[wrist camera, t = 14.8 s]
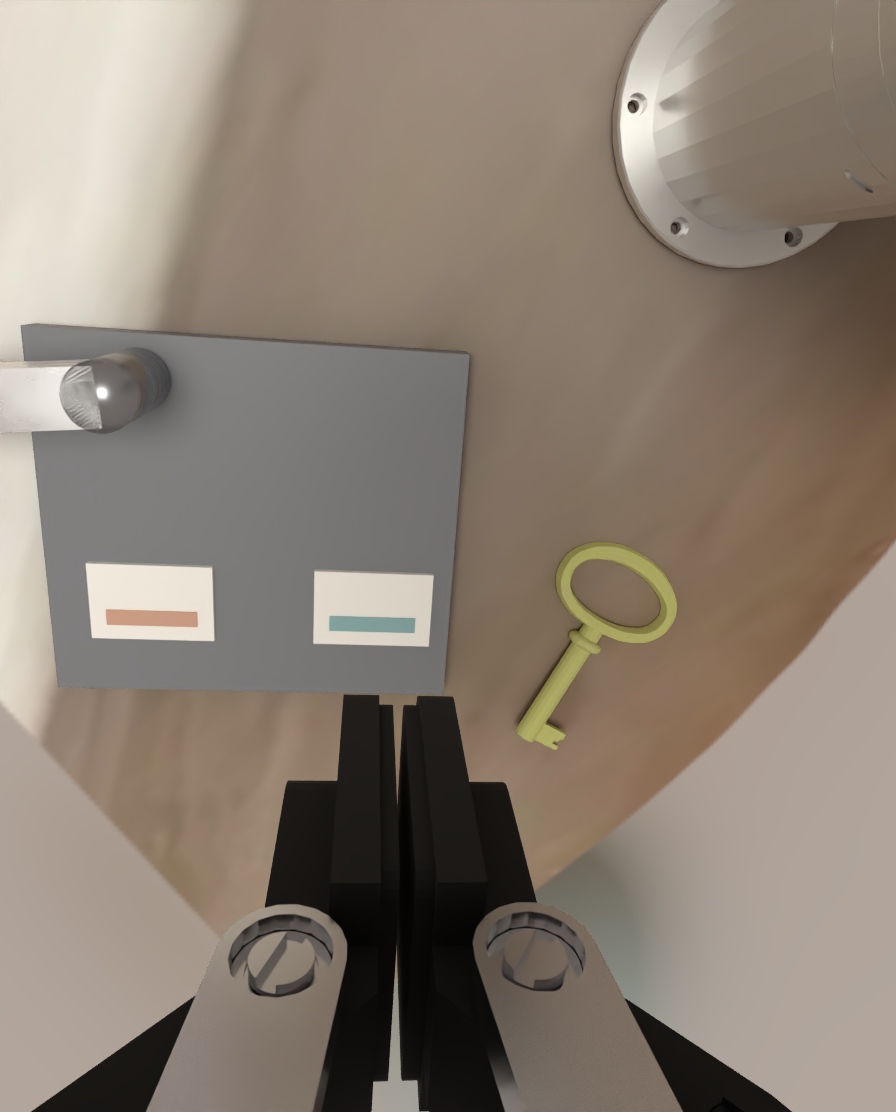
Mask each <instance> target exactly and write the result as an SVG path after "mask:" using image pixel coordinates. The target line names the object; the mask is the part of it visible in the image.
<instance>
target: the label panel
mask: <svg viewBox="0 0 896 1112" xmlns="http://www.w3.org/2000/svg"><path fill="white" fill-rule="evenodd" d="M21 333H22V343H23V353H24V361H52V360H83V359H93V358H97V357H100V356H103V355H107V354H110V353H113V352H117V351H120V350H123V349H127V348H133V347H136V348H143V349H146V350H149V351H151V352H153V353H154V354H156V355H157V356H158V357H159V358H160V359H161V360H162V361H163V362H164V364H165V365H166V367H167V369H168V371H169V374H170V381H171V384H170V390H169V393H168V395H167V397H166V399H165V400H164V401H163V402H162V403H161V404H160V405H159V406H157V407H155V408H154V409H152V410H150V411H149V412H147V413H145V414H144V415H142V416H141V417H139V418H137V419H136V420H134V421H132V422H131V423H129V424H127V425H126V426H124V427H123V428H121V429H119V430H117V431H115V432H112V433H107V434H97V433H92V432H89V431H86V430H84V429H83V430H56V431H32V440H33V450H34V459H35V469H36V479H37V488H38V498H39V508H40V517H41V527H42V537H43V546H44V556H45V566H46V575H47V585H48V595H49V604H50V614H51V624H52V634H53V643H54V653H55V663H56V672H57V682H58V687H68V688H121V689H174V690H227V691H280V692H333V693H386V694H439V695H443V692H444V679H445V667H446V654H447V641H448V628H449V615H450V602H451V589H452V576H453V563H454V550H455V537H456V524H457V512H458V499H459V486H460V473H461V460H462V447H463V434H464V421H465V408H466V395H467V382H468V369H469V357H470V354H468V353H467V352H464V351H448V350H433V349H418V348H402V347H387V346H372V345H356V344H341V343H326V342H310V341H295V340H280V339H264V338H249V337H234V336H218V335H203V334H188V333H172V332H157V331H142V330H126V329H111V328H96V327H80V326H65V325H49V324H28V325H21Z"/></svg>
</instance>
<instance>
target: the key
mask: <svg viewBox="0 0 896 1112" xmlns="http://www.w3.org/2000/svg"><path fill="white" fill-rule="evenodd" d="M589 559H601V560H608V561H612V562H615V563H618V564H621V565H623V566H625V567H627V568H629V569H631V570H633V571H634V572H636V573H637V574H639V575H640V576H641V577H642V578H643V579H644V580H646V581H647V582H648V583H649V584H650V586H651V587H652V588H653V590H654V591H655V593H656V594H657V596H658V598H659V600H660V605H661V609H660V613H659V615H658V617H657V618H656V619H655V620H654V621H653V622H651V623H650V624H648V625H646V626H643V627H639V628H636V627H624V626H618V625H615V624H613V623H610V622H608V621H606V620H604V619H602V618H600V617H598V616H597V615H595V614H594V613H592V612H591V611H589V610H588V609H587V608H586V607H584V606H583V605H582V604H581V603H580V602H579V601H578V599H577V598H576V597H575V595H574V594H573V592H572V590H571V588H570V580H571V576H572V574H573V571H574V569H575V568H576V567H577V566H578V565H579V564H580V563H582V562H584V561H586V560H589ZM556 588H557V593H558V595H559V597H560V599H561V601H562V602H563V604H564V606H565V607H566V608H567V610H568V611H569V612H570V613H571V614H572V615H573V616H574V617H575V618H577V619H578V620H579V621H581V622H582V623H583V625H582V627H581V628H580V630H579V631H577V630H572V631H570V632H569V638H570V639H571V641H572V642H571V644H570V645H569V647H568V649H567V650H566V652H565V653H564V655H563V656H562V658H561V659H560V661H559V663H558V664H557V666H556V667H555V669H554V670H553V672H552V673H551V675H550V677H549V678H548V680H547V681H546V683H545V684H544V686H543V687H542V689H541V691H540V692H539V694H538V695H537V697H536V698H535V700H534V701H533V703H532V705H531V706H530V708H529V709H528V711H527V712H526V714H525V715H524V717H523V719H522V720H521V722H520V723H519V725H518V726H517V728H516V729H515V730H516V732H517V734H518V735H519V736H521V737H522V738H523V739H525V740H527V741H529V742H533V741H534V740H536V741H538V742H540V743H542V744H544V745H546V746H548V747H550V748H552V749H554V750H556V749H557V747H558V745H557V744H556V743H555V742H554V741H556V742H558V741H559V740H563V738H564V737H565V735H566V734H565V732H564V731H562V730H560V729H558V728H556V727H554V726H552V725H550V724H549V723H547V722H546V721H547V720H548V718H549V717H550V715H551V713H552V712H553V710H554V709H555V707H556V706H557V704H558V703H559V701H560V700H561V698H562V696H563V695H564V693H565V692H566V690H567V689H568V687H569V686H570V684H571V683H572V681H573V680H574V678H575V676H576V675H577V673H578V672H579V670H580V669H581V667H582V666H583V664H584V663H585V661H586V660H587V658H588V656H589V655H590V653H592V654H598V653H599V652H600V651H601V648H600V646H599V644H598V641H599V640H600V638H601V636H602V635H605V636H608V637H610V638H613V639H616V640H618V641H623V642H628V643H646V642H650V641H653V640H655V639H657V638H659V637H661V636H662V635H663V634H664V633H666V632H667V630H668V629H669V628H670V626H671V625H672V623H673V621H674V619H675V617H676V612H677V601H676V598H675V594H674V591H673V589H672V586H671V584H670V582H669V580H668V579H667V577H666V575H665V574H664V572H663V571H662V570H661V569H660V568H659V567H658V566H657V565H656V564H654V563H653V562H652V561H651V560H649V559H648V558H646V557H645V556H644V555H642V554H640V553H638V552H636V551H634V550H632V549H630V548H628V547H625V546H623V545H619V544H615V543H608V542H593V543H587V544H583V545H581V546H579V547H576V548H574V549H573V550H572V551H570V552H569V553H567V555H566V556H565V557H564V558H563V560H562V561H561V563H560V565H559V567H558V569H557V573H556Z"/></svg>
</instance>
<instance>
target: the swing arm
mask: <svg viewBox="0 0 896 1112" xmlns="http://www.w3.org/2000/svg"><path fill="white" fill-rule="evenodd" d="M170 384H171V381H170V374H169V371H168V369H167V367H166V365H165V364H164V362H163V361H162V360H161V359H160V358H159V357H158V356H157V355H156V354H154V353H153V352H151V351H149V350H146V349H143V348H136V347H133V348H127V349H123V350H120V351H117V352H113V353H110V354H107V355H103V356H100V357H97V358H93V359H83V360H52V361H20V362H0V433H4V432H30V431H56V430H83V429H84V430H86V431H89V432H92V433H97V434H107V433H112V432H115V431H117V430H119V429H121V428H123V427H124V426H126V425H127V424H129V423H131V422H132V421H134V420H136V419H137V418H139V417H141V416H142V415H144V414H145V413H147V412H149V411H150V410H152V409H154V408H155V407H157V406H159V405H160V404H161V403H162V402H163V401H164V400H165V399H166V397H167V395H168V393H169V390H170Z"/></svg>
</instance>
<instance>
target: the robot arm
mask: <svg viewBox="0 0 896 1112" xmlns="http://www.w3.org/2000/svg"><path fill="white" fill-rule="evenodd" d="M628 102H633V103H634V104H635V105H636V111H635V113H633V114H632V113H630V112H629V110H628V107H627V105H628ZM613 149H614V155H615V161H616V166H617V172H618V175H619V178H620V181H621V183H622V186H623V189H624V192H625V194H626V197H627V199H628V201H629V203H630V204H631V206H632V208H633V209H634V211H635V213H636V214H637V216H638V218H639V219H640V221H641V222H642V223H643V224H644V225H645V226H646V228H647V229H648V230H649V231H650V232H651V233H652V234H653V235H654V236H655V237H656V239H657V240H659V241H660V242H662V243H663V244H664V245H666V246H667V247H669V248H670V249H671V250H673V251H674V252H676V253H677V254H679V255H681V256H684V257H686V258H688V259H691V260H693V261H695V262H698V263H701V264H706V265H711V266H717V267H722V268H745V267H753V266H760V265H767V264H770V263H773V262H776V261H779V260H782V259H785V258H788V257H791V256H793V255H795V254H797V253H798V252H800V251H802V250H804V249H805V248H807V247H809V246H811V245H813V244H814V243H816V242H817V241H818V240H819V239H821V238H822V237H823V236H824V235H826V234H827V233H828V232H829V231H830V230H832V229H833V228H834V227H835V226H836V225H837V224H838V223H839V222H844V221H853V220H862V219H871V218H880V217H889V216H896V0H662V1H661V3H660V4H659V5H658V7H657V8H656V9H655V11H654V12H653V13H652V14H651V16H650V17H649V18H648V20H647V21H646V22H645V23H644V25H643V26H642V28H641V30H640V32H639V33H638V35H637V37H636V39H635V41H634V43H633V45H632V47H631V49H630V50H629V52H628V54H627V57H626V60H625V63H624V66H623V69H622V72H621V75H620V78H619V81H618V84H617V90H616V96H615V102H614V108H613ZM673 222H674V223H676V224H677V227H678V229H677V232H676V233H675V234H672V233H671V229H670V226H671V224H672V223H673ZM786 233H787V234H788V237H789V238H788V241H787V242H786V243H785V240H784V236H785V234H786ZM396 945H397V967H398V998H399V1027H400V1057H401V1079H402V1080H403V1081H404V1080H418V1097H419V1111H429V1112H792V1111H790V1110H789V1109H788V1108H787V1107H785V1106H784V1105H783V1104H782V1103H781V1102H779V1101H778V1100H777V1099H776V1098H774V1097H773V1096H772V1095H771V1094H769V1093H768V1092H766V1091H764V1090H763V1089H762V1088H760V1087H759V1086H757V1085H755V1084H754V1083H752V1082H751V1081H749V1080H748V1079H746V1078H745V1077H743V1076H742V1075H740V1074H739V1073H737V1072H736V1071H734V1070H733V1069H731V1068H730V1067H728V1066H727V1065H725V1064H724V1063H722V1062H721V1061H719V1060H717V1059H716V1058H715V1057H713V1056H712V1055H710V1054H709V1053H707V1052H706V1051H704V1050H703V1049H701V1048H700V1047H698V1046H696V1045H695V1044H693V1043H692V1042H690V1041H689V1040H687V1039H686V1038H684V1037H683V1036H681V1035H680V1034H678V1033H677V1032H675V1031H674V1030H672V1029H671V1028H669V1027H668V1026H666V1025H665V1024H663V1023H662V1022H660V1021H659V1020H657V1019H655V1018H654V1017H653V1016H651V1015H650V1014H648V1013H647V1012H645V1011H644V1010H642V1009H640V1008H639V1007H638V1006H636V1005H634V1004H633V1003H631V1002H630V1001H628V1000H627V999H625V998H624V997H623V995H622V993H621V991H620V989H619V987H618V985H617V983H616V981H615V979H614V977H613V976H612V973H611V972H610V970H609V968H608V966H607V964H606V962H605V960H604V958H603V956H602V954H601V952H600V950H599V948H598V946H597V944H596V942H595V941H594V939H593V938H592V937H591V935H590V934H589V932H588V931H587V930H586V928H585V927H584V926H583V925H582V924H581V923H579V922H578V921H577V920H576V919H574V918H573V917H572V916H571V915H569V914H567V913H565V912H563V911H561V910H559V909H556V908H555V907H552V906H547V905H543V904H539V903H537V901H536V897H535V893H534V889H533V886H532V882H531V878H530V874H529V870H528V866H527V862H526V858H525V854H524V851H523V847H522V843H521V839H520V835H519V831H518V827H517V823H516V820H515V816H514V812H513V808H512V804H511V800H510V796H509V792H508V789H507V786H506V784H505V783H504V782H469V778H468V773H467V768H466V762H465V757H464V751H463V746H462V741H461V735H460V730H459V725H458V719H457V714H456V708H455V703H454V699H453V697H445V696H418V697H417V704H416V705H404V707H403V719H402V736H401V753H400V770H399V787H398V804H397V792H396V768H395V745H394V721H393V705H379V695H344V698H343V711H342V725H341V739H340V752H339V766H338V779H337V781H287V784H286V788H285V793H284V799H283V805H282V811H281V817H280V822H279V828H278V834H277V840H276V845H275V851H274V857H273V863H272V868H271V874H270V880H269V886H268V891H267V897H266V903H265V908H262V909H258V910H257V911H255V912H253V913H251V914H249V915H247V916H245V917H243V918H241V919H240V920H239V921H237V922H236V923H235V924H234V925H233V926H232V927H230V928H229V929H228V930H227V931H226V933H225V934H224V936H223V937H222V939H221V940H220V942H219V944H218V945H217V947H216V949H215V952H214V954H213V956H212V959H211V961H210V963H209V966H208V968H207V970H206V973H205V975H204V978H203V980H202V982H201V984H200V987H199V989H198V991H197V994H196V996H194V997H193V998H191V999H190V1000H188V1001H187V1002H186V1003H184V1004H183V1005H181V1006H180V1007H179V1008H177V1009H176V1010H174V1011H173V1012H171V1013H170V1014H169V1015H167V1016H166V1017H165V1018H163V1019H162V1020H160V1021H159V1022H157V1023H156V1024H155V1025H153V1026H152V1027H150V1028H149V1029H147V1030H146V1031H145V1032H143V1033H142V1034H141V1035H139V1036H138V1037H136V1038H135V1039H133V1040H132V1041H130V1042H129V1043H128V1044H126V1045H125V1046H124V1047H122V1048H121V1049H119V1050H118V1051H116V1052H115V1053H114V1054H112V1055H111V1056H109V1057H108V1058H107V1059H105V1060H104V1061H102V1062H101V1063H99V1064H98V1065H97V1066H95V1067H94V1068H92V1069H91V1070H89V1071H88V1072H87V1073H85V1074H84V1075H82V1076H81V1077H80V1078H78V1079H77V1080H75V1081H74V1082H73V1083H71V1084H70V1085H68V1086H67V1087H66V1088H64V1089H63V1090H61V1091H60V1092H58V1093H57V1094H56V1095H54V1096H53V1097H51V1098H50V1099H49V1100H47V1101H46V1102H45V1103H43V1104H41V1105H40V1106H39V1107H37V1108H36V1109H35V1110H33V1111H32V1112H371V1111H372V1092H373V1082H375V1081H388V1072H389V1057H390V1040H391V1025H392V1009H393V993H394V992H393V991H394V977H395V961H396Z"/></svg>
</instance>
